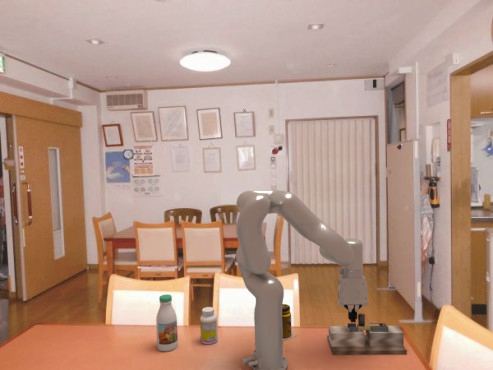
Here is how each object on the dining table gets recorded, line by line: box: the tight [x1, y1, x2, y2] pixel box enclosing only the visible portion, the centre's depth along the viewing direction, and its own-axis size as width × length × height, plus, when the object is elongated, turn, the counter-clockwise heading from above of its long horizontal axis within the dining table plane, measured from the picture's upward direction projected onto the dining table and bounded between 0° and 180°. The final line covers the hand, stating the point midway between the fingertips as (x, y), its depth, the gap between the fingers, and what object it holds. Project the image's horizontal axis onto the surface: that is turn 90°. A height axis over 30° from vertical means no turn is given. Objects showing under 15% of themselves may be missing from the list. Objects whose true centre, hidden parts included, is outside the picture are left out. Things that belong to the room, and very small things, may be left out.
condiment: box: [282, 303, 297, 341], centre depth 151 cm, size 7×8×12 cm
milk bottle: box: [155, 293, 179, 352], centre depth 144 cm, size 8×8×20 cm
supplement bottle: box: [199, 306, 219, 345], centre depth 148 cm, size 7×7×13 cm
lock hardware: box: [347, 322, 389, 332], centre depth 140 cm, size 14×4×2 cm, turn 88°
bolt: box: [356, 312, 380, 331], centre depth 140 cm, size 8×2×6 cm, turn 87°
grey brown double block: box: [326, 325, 408, 356], centre depth 141 cm, size 26×12×6 cm, turn 87°
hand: (352, 320), depth 140 cm, fingers closed
